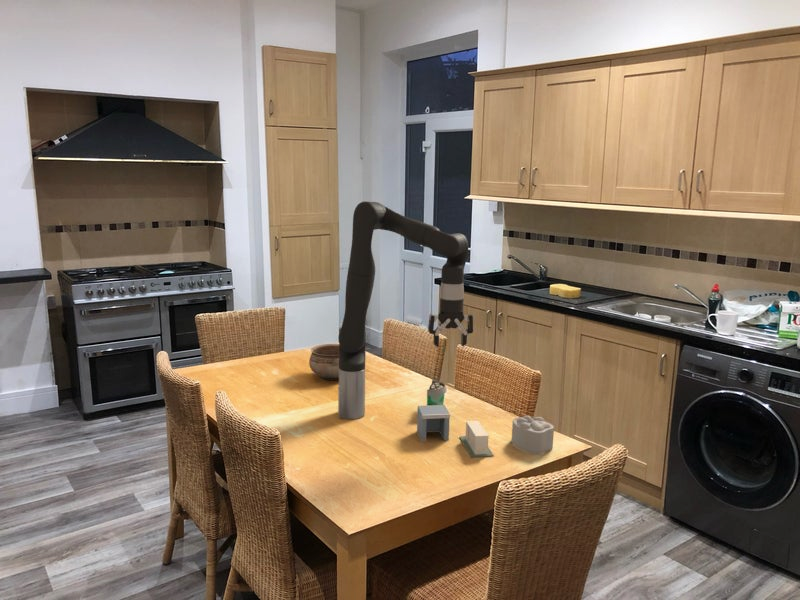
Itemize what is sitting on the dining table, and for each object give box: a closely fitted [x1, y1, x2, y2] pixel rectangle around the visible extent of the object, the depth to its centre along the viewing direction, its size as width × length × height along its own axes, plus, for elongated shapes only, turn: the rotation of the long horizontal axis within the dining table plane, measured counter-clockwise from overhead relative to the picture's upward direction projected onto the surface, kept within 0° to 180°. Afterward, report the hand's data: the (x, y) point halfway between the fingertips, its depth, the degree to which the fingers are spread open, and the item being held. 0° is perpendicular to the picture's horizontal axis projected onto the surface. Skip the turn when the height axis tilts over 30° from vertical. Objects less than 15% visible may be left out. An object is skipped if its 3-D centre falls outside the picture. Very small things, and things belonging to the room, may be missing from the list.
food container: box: [426, 379, 447, 405], centre depth 230 cm, size 12×6×10 cm, turn 168°
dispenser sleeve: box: [416, 404, 451, 442], centre depth 208 cm, size 9×9×9 cm
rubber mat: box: [459, 435, 495, 459], centre depth 202 cm, size 7×15×1 cm, turn 9°
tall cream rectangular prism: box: [465, 420, 489, 455], centre depth 201 cm, size 4×12×6 cm, turn 8°
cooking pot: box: [308, 343, 339, 381], centre depth 265 cm, size 25×19×12 cm
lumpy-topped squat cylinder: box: [511, 415, 555, 455], centre depth 203 cm, size 10×13×9 cm
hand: (450, 346), depth 205 cm, fingers open, 8 cm apart
